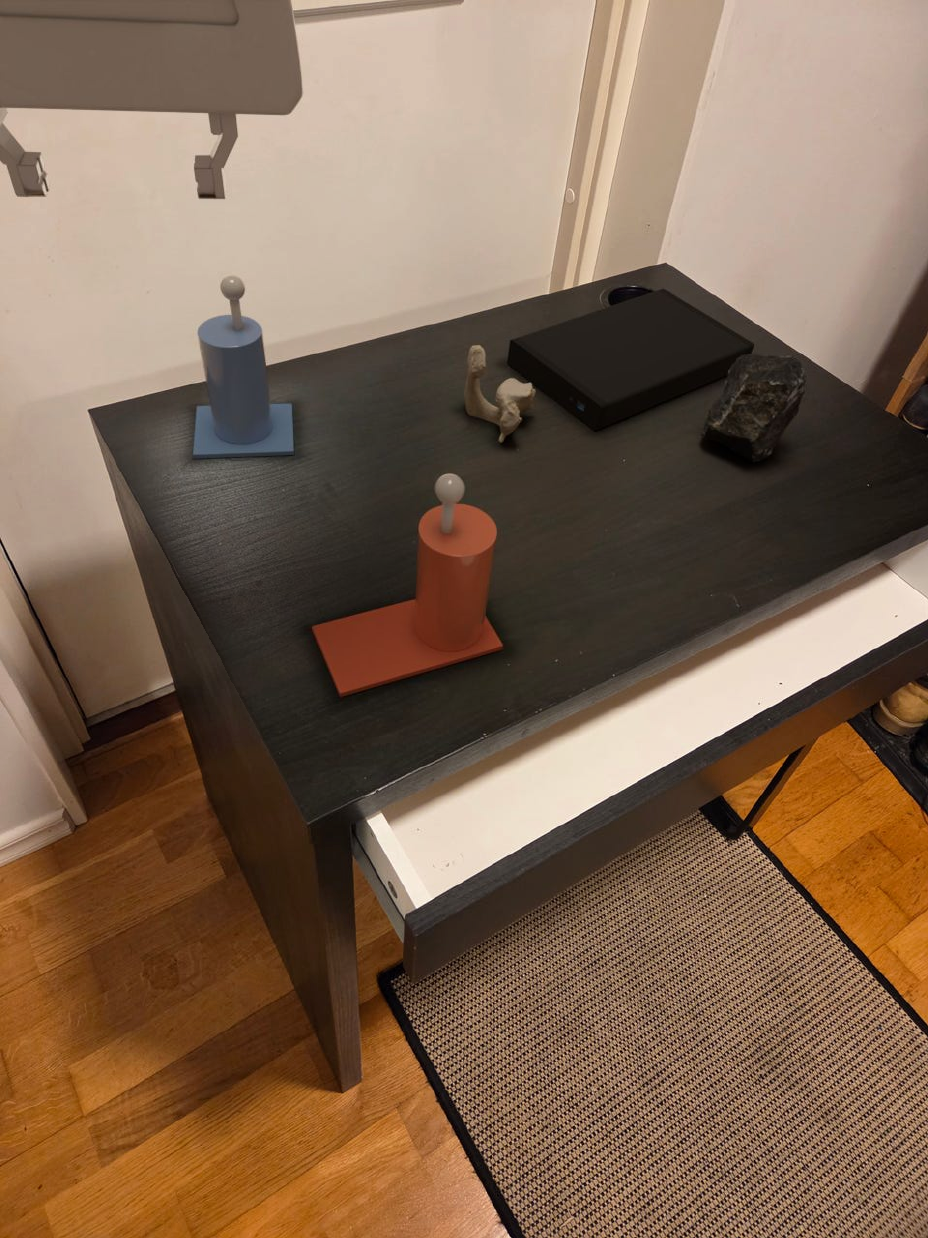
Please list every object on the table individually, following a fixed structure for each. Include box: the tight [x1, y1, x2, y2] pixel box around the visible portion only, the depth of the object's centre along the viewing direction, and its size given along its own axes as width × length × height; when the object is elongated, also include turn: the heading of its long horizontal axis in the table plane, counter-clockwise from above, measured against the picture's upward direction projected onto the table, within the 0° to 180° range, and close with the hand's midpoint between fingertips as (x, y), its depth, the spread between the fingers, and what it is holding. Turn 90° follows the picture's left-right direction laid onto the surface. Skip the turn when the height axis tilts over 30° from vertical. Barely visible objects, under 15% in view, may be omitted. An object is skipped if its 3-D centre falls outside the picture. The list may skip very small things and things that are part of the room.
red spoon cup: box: [414, 473, 498, 652], centre depth 61 cm, size 5×5×15 cm
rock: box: [700, 352, 807, 463], centre depth 82 cm, size 8×7×10 cm
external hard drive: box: [507, 288, 755, 432], centre depth 93 cm, size 14×23×3 cm, turn 127°
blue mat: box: [192, 403, 295, 460], centre depth 81 cm, size 9×8×1 cm
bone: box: [463, 344, 537, 444], centre depth 82 cm, size 9×6×10 cm
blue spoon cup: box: [197, 274, 273, 444], centre depth 75 cm, size 5×5×15 cm
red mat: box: [311, 598, 504, 698], centre depth 65 cm, size 13×7×1 cm, turn 114°
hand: (124, 194), depth 47 cm, fingers open, 8 cm apart
